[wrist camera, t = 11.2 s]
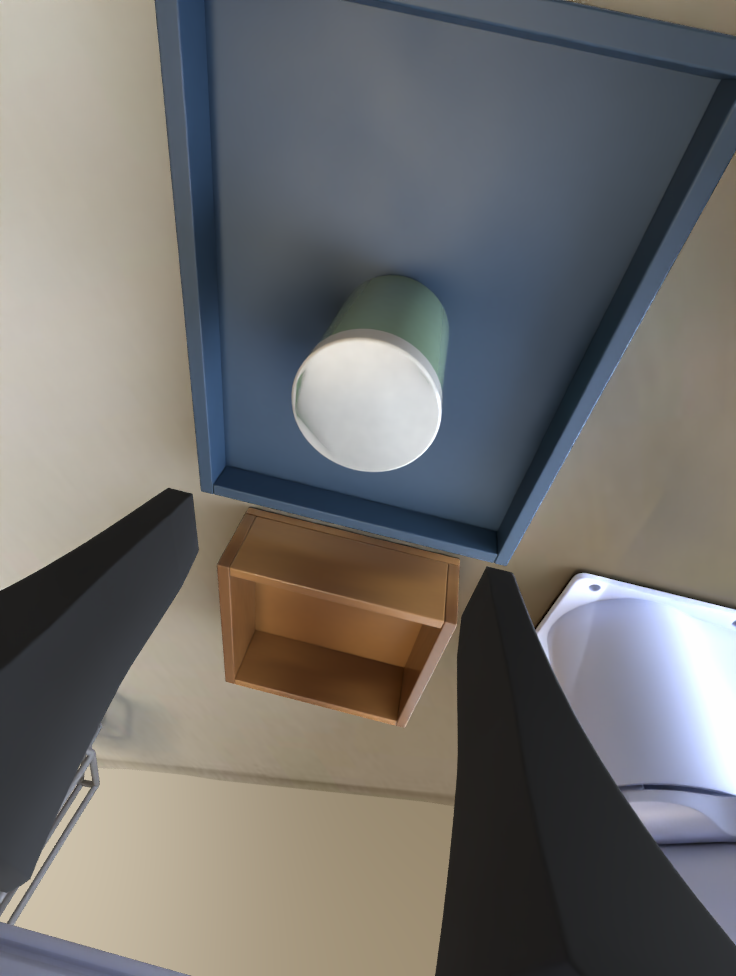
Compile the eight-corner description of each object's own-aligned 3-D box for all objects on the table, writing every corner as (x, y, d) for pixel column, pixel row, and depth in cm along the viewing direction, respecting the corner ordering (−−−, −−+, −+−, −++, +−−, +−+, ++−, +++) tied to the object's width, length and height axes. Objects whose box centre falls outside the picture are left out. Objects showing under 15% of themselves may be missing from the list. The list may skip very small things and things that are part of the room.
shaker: (465, 288, 16) (460, 359, 11) (434, 397, 18) (421, 486, 14) (343, 260, 16) (294, 321, 11) (330, 372, 18) (287, 454, 14)
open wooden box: (460, 558, 24) (457, 625, 21) (411, 667, 32) (404, 728, 29) (248, 506, 25) (216, 564, 22) (249, 625, 32) (225, 681, 29)
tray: (752, 53, 11) (794, 47, 10) (504, 535, 23) (506, 567, 21) (187, -65, 12) (145, -88, 10) (219, 465, 23) (200, 491, 22)
